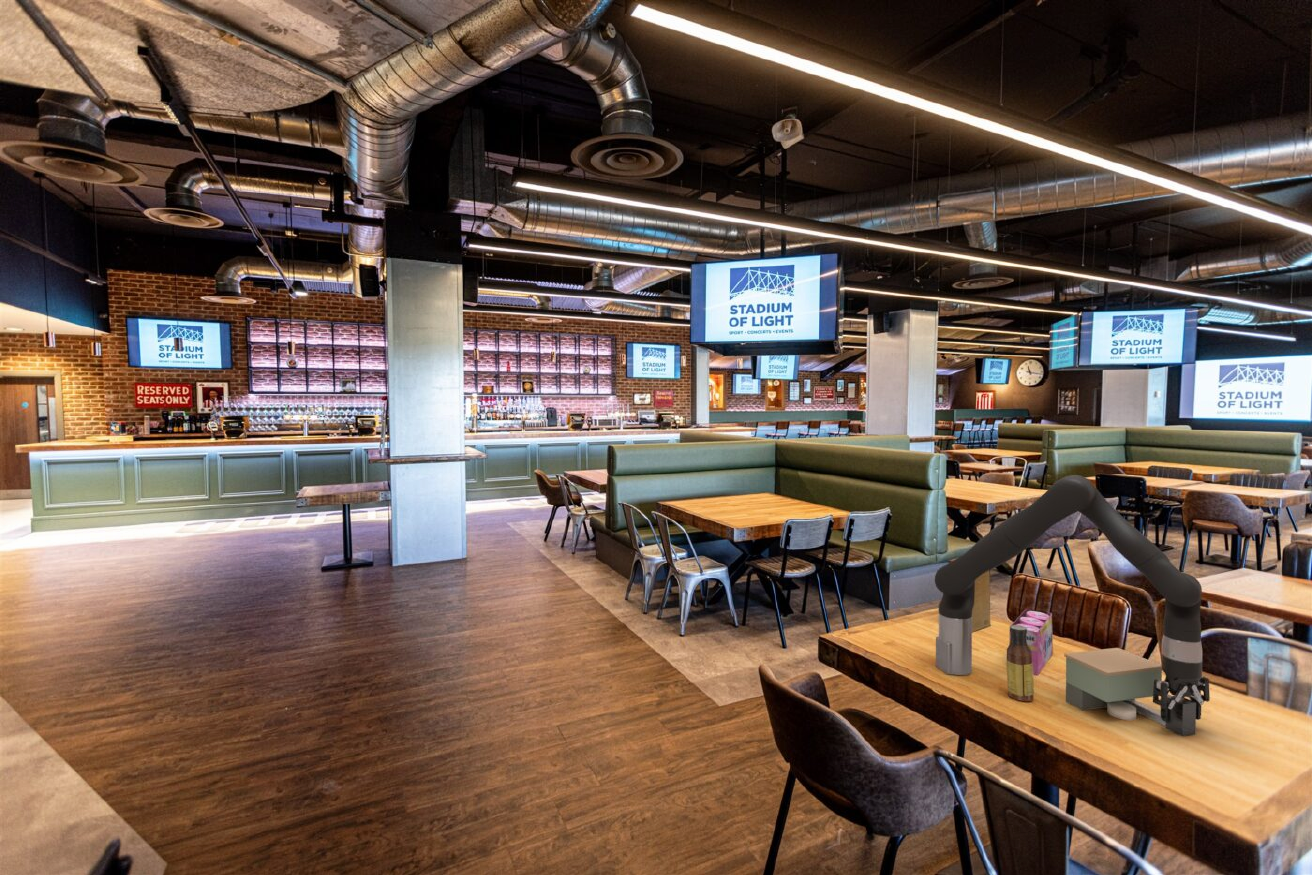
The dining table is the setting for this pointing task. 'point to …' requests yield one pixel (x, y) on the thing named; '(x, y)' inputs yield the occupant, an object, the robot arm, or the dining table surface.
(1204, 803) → the dining table surface
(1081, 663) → the cabinet
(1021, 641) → the sauce bottle
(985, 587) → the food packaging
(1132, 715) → the puck
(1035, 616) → the gum box
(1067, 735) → the dining table surface
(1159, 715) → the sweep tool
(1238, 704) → the dining table surface
